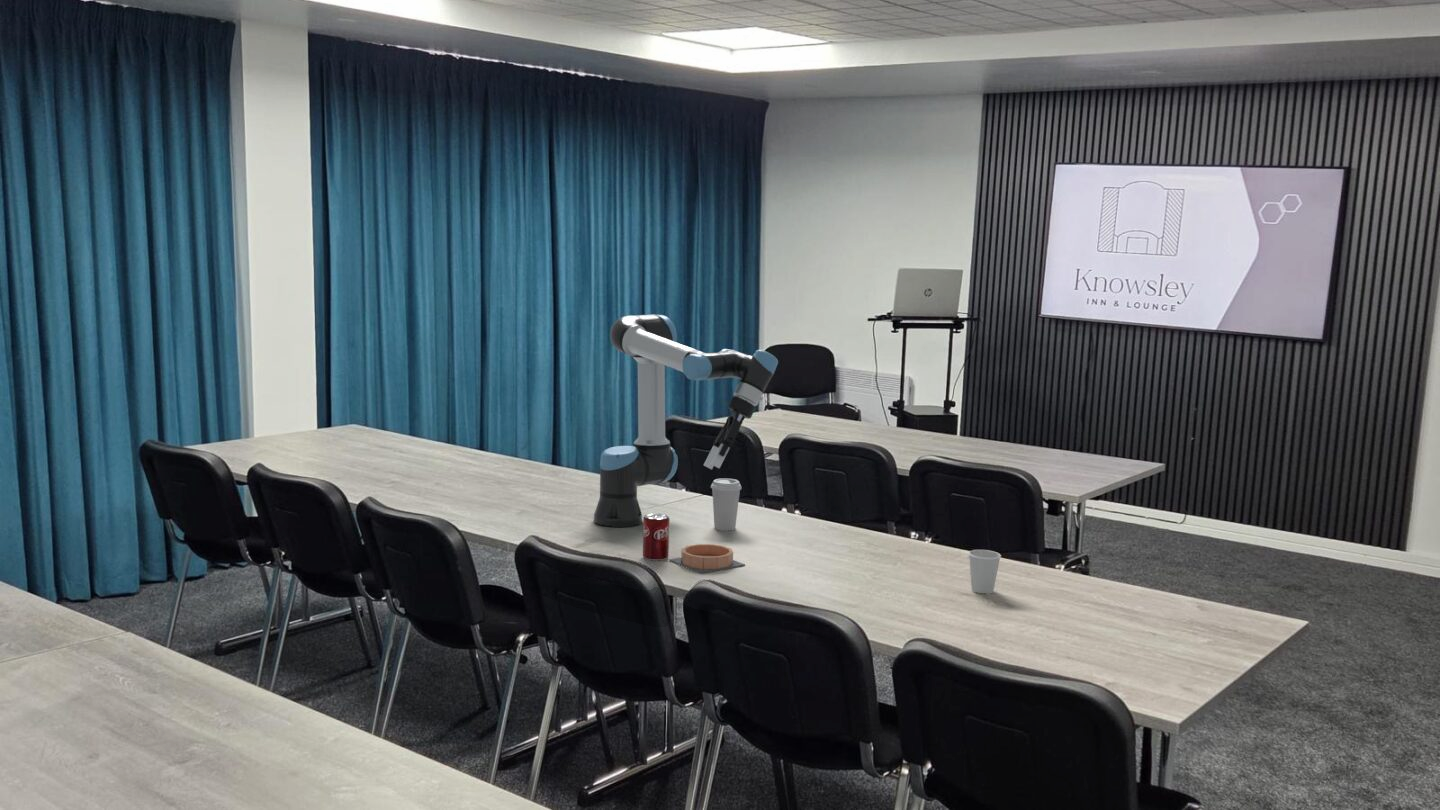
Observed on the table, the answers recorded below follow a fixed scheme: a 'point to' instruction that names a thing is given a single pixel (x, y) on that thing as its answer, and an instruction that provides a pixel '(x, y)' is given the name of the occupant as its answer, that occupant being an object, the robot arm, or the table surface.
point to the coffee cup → (725, 503)
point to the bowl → (707, 558)
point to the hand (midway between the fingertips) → (711, 466)
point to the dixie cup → (983, 570)
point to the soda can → (656, 537)
